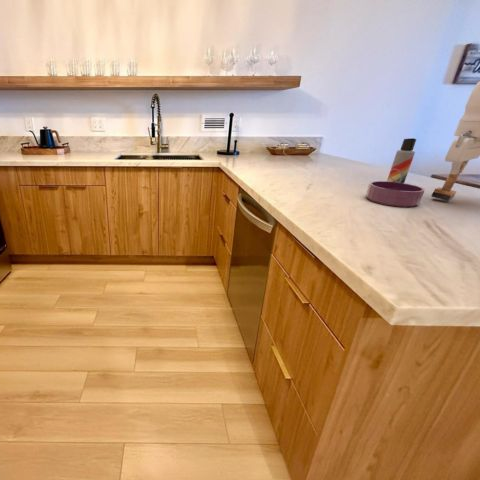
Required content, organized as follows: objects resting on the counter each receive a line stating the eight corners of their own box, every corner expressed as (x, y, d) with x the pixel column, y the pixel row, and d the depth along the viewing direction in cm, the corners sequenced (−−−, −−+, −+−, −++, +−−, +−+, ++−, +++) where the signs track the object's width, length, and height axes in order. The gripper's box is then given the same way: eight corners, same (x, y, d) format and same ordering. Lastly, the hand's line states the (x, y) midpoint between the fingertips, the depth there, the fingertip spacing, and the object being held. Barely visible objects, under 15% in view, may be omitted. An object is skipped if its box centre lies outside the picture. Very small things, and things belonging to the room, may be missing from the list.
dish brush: (452, 199, 102) (472, 162, 96) (448, 201, 100) (468, 163, 94) (435, 194, 106) (453, 159, 100) (430, 196, 104) (449, 160, 98)
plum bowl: (426, 203, 101) (432, 188, 99) (406, 210, 94) (412, 194, 91) (377, 193, 113) (382, 179, 111) (357, 199, 106) (361, 184, 103)
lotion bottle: (388, 190, 117) (405, 138, 109) (382, 186, 122) (398, 137, 114) (404, 190, 116) (423, 138, 108) (397, 187, 121) (415, 137, 113)
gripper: (476, 132, 86) (456, 178, 91) (497, 130, 95) (478, 172, 101) (449, 131, 91) (431, 175, 96) (471, 129, 100) (454, 169, 106)
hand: (455, 173), depth 99 cm, fingers closed on dish brush, 2 cm apart
